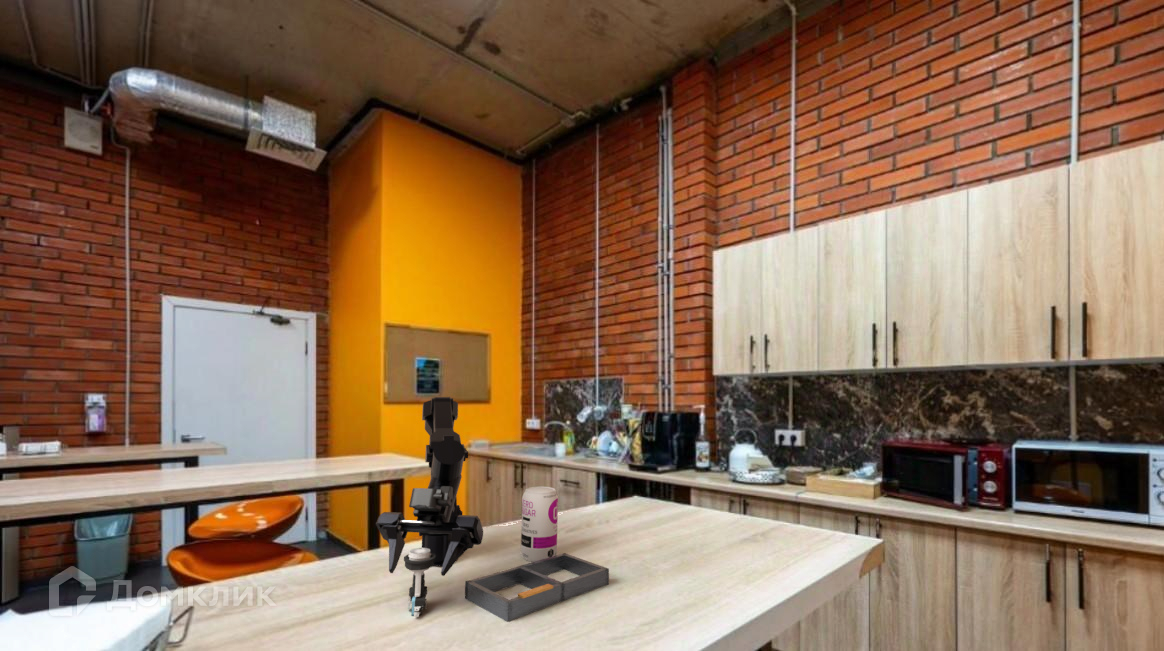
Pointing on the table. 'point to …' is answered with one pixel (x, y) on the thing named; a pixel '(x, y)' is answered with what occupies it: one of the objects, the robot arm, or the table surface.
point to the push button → (418, 577)
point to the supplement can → (539, 523)
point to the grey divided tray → (535, 585)
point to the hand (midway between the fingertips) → (416, 573)
